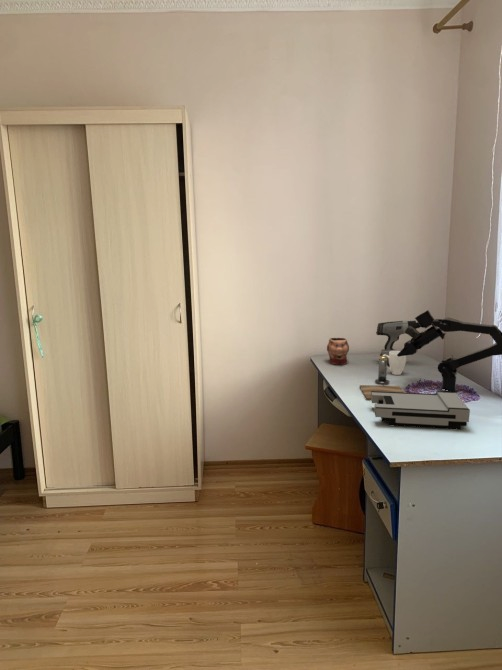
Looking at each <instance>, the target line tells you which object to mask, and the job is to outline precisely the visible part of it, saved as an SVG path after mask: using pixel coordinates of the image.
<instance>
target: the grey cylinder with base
mask: <svg viewBox="0 0 502 670" xmlns="http://www.w3.org/2000/svg"><path fill="white" fill-rule="evenodd" d="M378 360H379V361H378V372H377V373H378V374H377V375H378V376H377V377H378V378H376V379H375V381H374V383H375V384H376V385H380V386H389V384H390V380H388V379H387V374H388V368H387V367H388V366H387V356H380V355H379V357H378Z"/></svg>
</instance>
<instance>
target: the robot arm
mask: <svg viewBox="0 0 502 670" xmlns="http://www.w3.org/2000/svg"><path fill="white" fill-rule="evenodd" d="M414 320H415V321H416V323H417V322H418V323H419V324H420V326H421V327H420V328H421V329H425V330H424V331H419V330H417V328H416V329H415V328H413V327H412V326H409V327H408V328H407V329H406V330H405V334H406V335H408V336H409V337H410V338H411V339H410V340H407V341H406V342H405V343H404V347H403V348H402V349H401V350H399V351H400V352H399V353H398V354H397V356H398V357H400V356H406V357H407V356H413V355H415V354H416V353H417V352H418V351H419V350H421V349H422V348H424V347H425V346H426V345H429V344H430V343H431V342H433V341H435V340H436V339H438V338H440V339H441V340H444V339H445V338H446V334H447V332H449V333H450V332H451V333H453V332H454V333H455V332H468V333H473V334H474V333H475V334H481V335H483V334H484V335H489V336H490V337H491V338H492V339H493V341H494V342H495V343H493V344H491V345H490V346H488V347H485V348H481V349H479V350H476V351H473V352H469V353H467V354H465V355H462V356H459V357H453V355H450V356H448V357H443V358H442V359H441V361H440V362H439V363H438V364H437V371H438V372H439V373H440V374H441V377H442V379H441V382H442V383H441V385H439V386H438V387H440V388H439V389H440V390H442V389H445V390H448V391H447V392H459V390H458V389H457V388H456V386H457V374H458V372H459V371H458V368H460V367H463V366H467V365H469V364H472V363H475V362H477V361H480V360H484V359H487V358H489V357H490V358H491V357H492V356H502V331H501V330H500V328H499V327H498V326H497V325H496V324H483V323H476V322H475V323H474V322H467V321H461V320H459V319H456V318H451V317H448V316H447V317H444V318H443V319H442V318H441V319H440V318H434V316H433V315H432V314H431V312H430V310H429V309H428V310H426V311H424V312H422V313H421V314H419V315H417V316H416V317H414Z"/></svg>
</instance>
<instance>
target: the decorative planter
mask: <svg viewBox="0 0 502 670" xmlns="http://www.w3.org/2000/svg"><path fill="white" fill-rule="evenodd" d="M349 350H350V346H349V343H348V339H346V337H331V338H329V339H328V343H327V345H326V351H327V353H328V357H329V362H330V363H331V364H333V365H346V364H348V358H347V355H348V353H349Z"/></svg>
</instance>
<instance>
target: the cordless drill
mask: <svg viewBox="0 0 502 670" xmlns="http://www.w3.org/2000/svg"><path fill="white" fill-rule="evenodd" d="M409 326H412V327H413V328H415V329H416V330H417V329H420V328H422V327H421V326H420V324H419V323H418V322H417V320H397V321H396V320H395V321H385V322H379V323H377V326H376V327H377V328H376V331H375V333H376V335H377V336H386V337H387V341H386V342H385V345H384V348H383V349H382V350H381V351H380V354H379V356H383V355H388V356H389V352H390V351H398V350H397V349H394V344H395V342H397V341H399V339H400V336H401V335H405V334H406V333H405V330H406V329H407V328H408V327H409ZM387 367H390V365H389V359H388V357H387Z"/></svg>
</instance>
